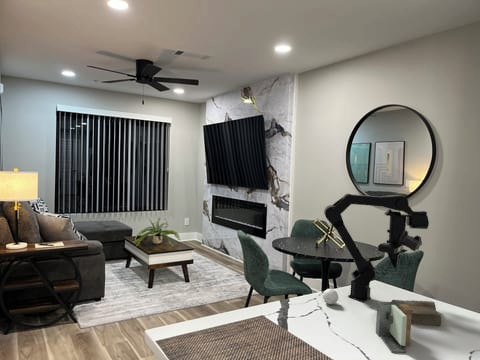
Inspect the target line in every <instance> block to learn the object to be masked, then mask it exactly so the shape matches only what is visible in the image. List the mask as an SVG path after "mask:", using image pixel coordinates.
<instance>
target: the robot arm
mask: <svg viewBox="0 0 480 360" xmlns="http://www.w3.org/2000/svg"><path fill="white" fill-rule="evenodd" d="M351 205H357V206H358V205H360V206H371V207H382V208H387V209H388V210H387V211H385V212H384V216H387V217H388V216H389V225H388V226H389V227H388V229H386V233H388V239H387V240H386V242H382V243H379V244H378V246H377V251H378V252H381V253H382V252H383V253H386V254H387V256H388V257H389V258H388V259H389V260H390V262H391V265H392V267H393V268H394V269H397V268H398V267H399V264H400V262H401V261H400V260H401V258H402V256H403V254H405V253H406V252H408V249H409V250H411V251H413V252H416V251H419V249H420V247H421V246H423V241H422V237H421V236H420V235H415V236H410V235H409V231H408V230H407V229H406V228H407V226H409V228H410V229H416V230H417V229H418V230H428V228H429V225H430V221H429V217H428V212H427V211H426V210H420V211H419V210H415V211H414V210H413V209H412V208H411V206H410V205H409V200H408V198H407V197H406V196H404V195H401V194H400V195H399V194H391V195H389V194H388V195H381V196H378V195H365V194H364V195H363V194H351V193H345V194H344V195H343V196H342V197H340V198H339V199H338V200H337V201H335V202H334V203H332V204H329V205H327V206H326V207H324V211H323V213H324V216H325V218H326V219H327V221H328V222H329V223H330V224H331V226H332V227H333V228H334V229H335V230H336V232H337V233H338V235H339V236H340V238H341V240H342V242H343V244H344V245H345V247H346V248H347V250H348V252H349V254H350V255H351V258H352V259H353V262H354V265H355V268H356V269H355V270H354V271H352V272H351V277H352V279H353V280H351V281H350V294H348V298H351V299H353V300H355V301H356V300H357V301H360V302H365V301H368V300H370V299H371V298H372V297H371V287H370V284H371V281H373V280H374V278H375V277H376V268H375V267H374V265H373V264H372V261H371V260H370V258H369V257H368V256H366V257H364V256H363V255H362V253H361V251H360V250H359V248H358V246H357V245H356V242H355V241H354V240H353V237H352V236H351V234H350V232H349V231H348V229H347V227H346V225H345V223H344V220H343V216H342V214H343V213H344V212H345V211H346V210H348V208H349V207H350V206H351ZM393 210H394V211H393ZM401 212H402V213H403V214H402V213H401ZM404 213H405V214H404ZM405 247H406V248H408V249H405Z"/></svg>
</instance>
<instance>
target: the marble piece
mask: <svg viewBox="0 0 480 360" xmlns="http://www.w3.org/2000/svg"><path fill="white" fill-rule="evenodd" d="M390 302H404V303H405V304H406V305H408V306H409V307H410V308H411V309H412V310H413V313H412V316H411V324H412V325H416V326H426V327H439V326H440V325H442V324H443V323H442V316H441V314H440V313H438V311H437V307H436V303H435V302H434V301H430V300H413V299H412V300H402V299H392V300H390Z"/></svg>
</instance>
